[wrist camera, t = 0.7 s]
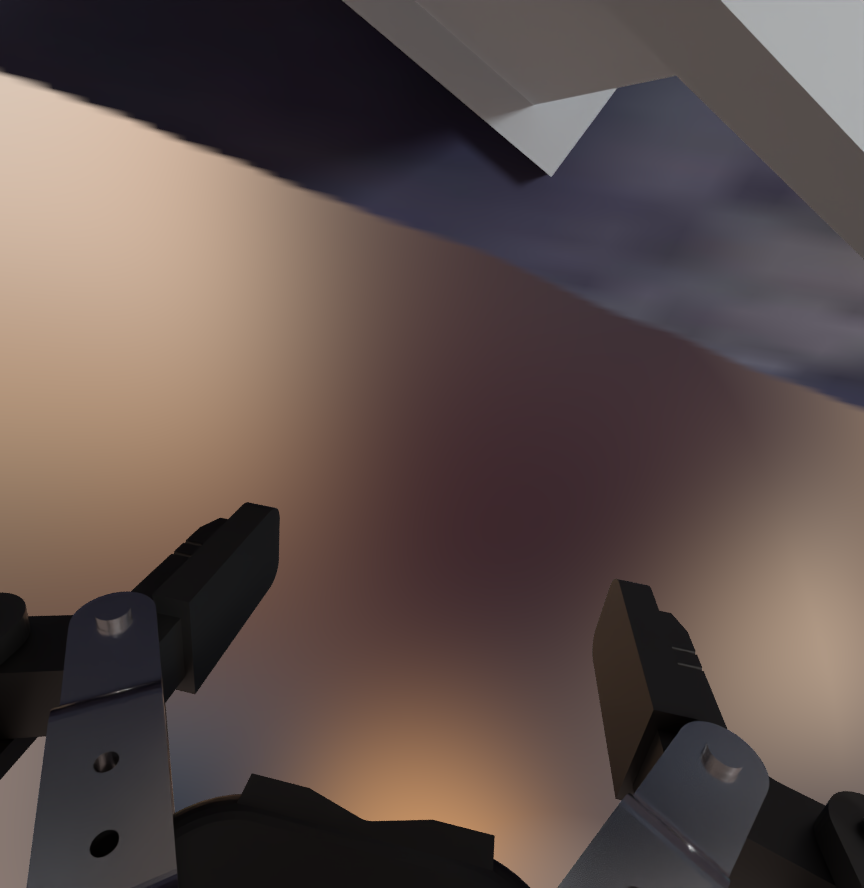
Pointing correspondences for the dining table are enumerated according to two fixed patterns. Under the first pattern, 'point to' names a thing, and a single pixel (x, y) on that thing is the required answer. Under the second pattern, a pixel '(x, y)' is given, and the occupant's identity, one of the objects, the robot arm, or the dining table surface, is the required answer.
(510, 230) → the dining table surface
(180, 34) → the dining table surface
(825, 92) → the white plinth column
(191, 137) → the dining table surface
